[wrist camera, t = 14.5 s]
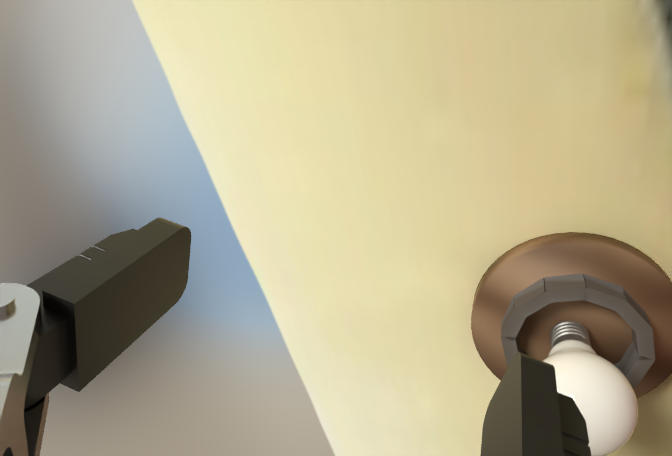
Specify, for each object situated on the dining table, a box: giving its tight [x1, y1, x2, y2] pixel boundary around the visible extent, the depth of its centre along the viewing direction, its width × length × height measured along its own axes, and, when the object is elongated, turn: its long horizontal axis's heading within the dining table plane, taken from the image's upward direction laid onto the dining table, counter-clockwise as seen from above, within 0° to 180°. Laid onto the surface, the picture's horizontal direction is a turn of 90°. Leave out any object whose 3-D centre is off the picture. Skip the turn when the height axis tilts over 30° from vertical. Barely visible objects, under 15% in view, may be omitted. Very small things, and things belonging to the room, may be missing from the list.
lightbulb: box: [543, 321, 638, 456], centre depth 34 cm, size 6×6×11 cm
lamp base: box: [471, 232, 672, 398], centre depth 38 cm, size 15×15×4 cm
